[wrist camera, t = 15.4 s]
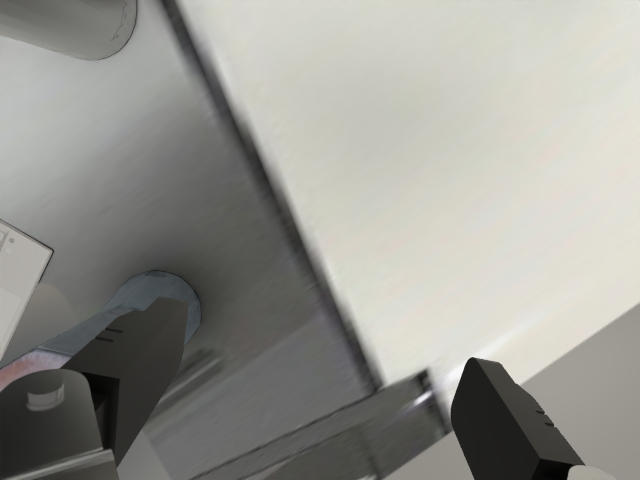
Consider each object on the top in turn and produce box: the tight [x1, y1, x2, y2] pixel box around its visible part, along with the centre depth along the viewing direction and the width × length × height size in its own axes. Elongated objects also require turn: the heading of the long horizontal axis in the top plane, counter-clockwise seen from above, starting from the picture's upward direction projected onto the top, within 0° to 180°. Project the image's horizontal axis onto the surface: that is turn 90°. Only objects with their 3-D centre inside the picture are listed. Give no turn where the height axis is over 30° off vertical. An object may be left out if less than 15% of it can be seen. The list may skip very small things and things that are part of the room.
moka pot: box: [0, 271, 201, 392], centre depth 32 cm, size 10×15×20 cm, turn 147°
